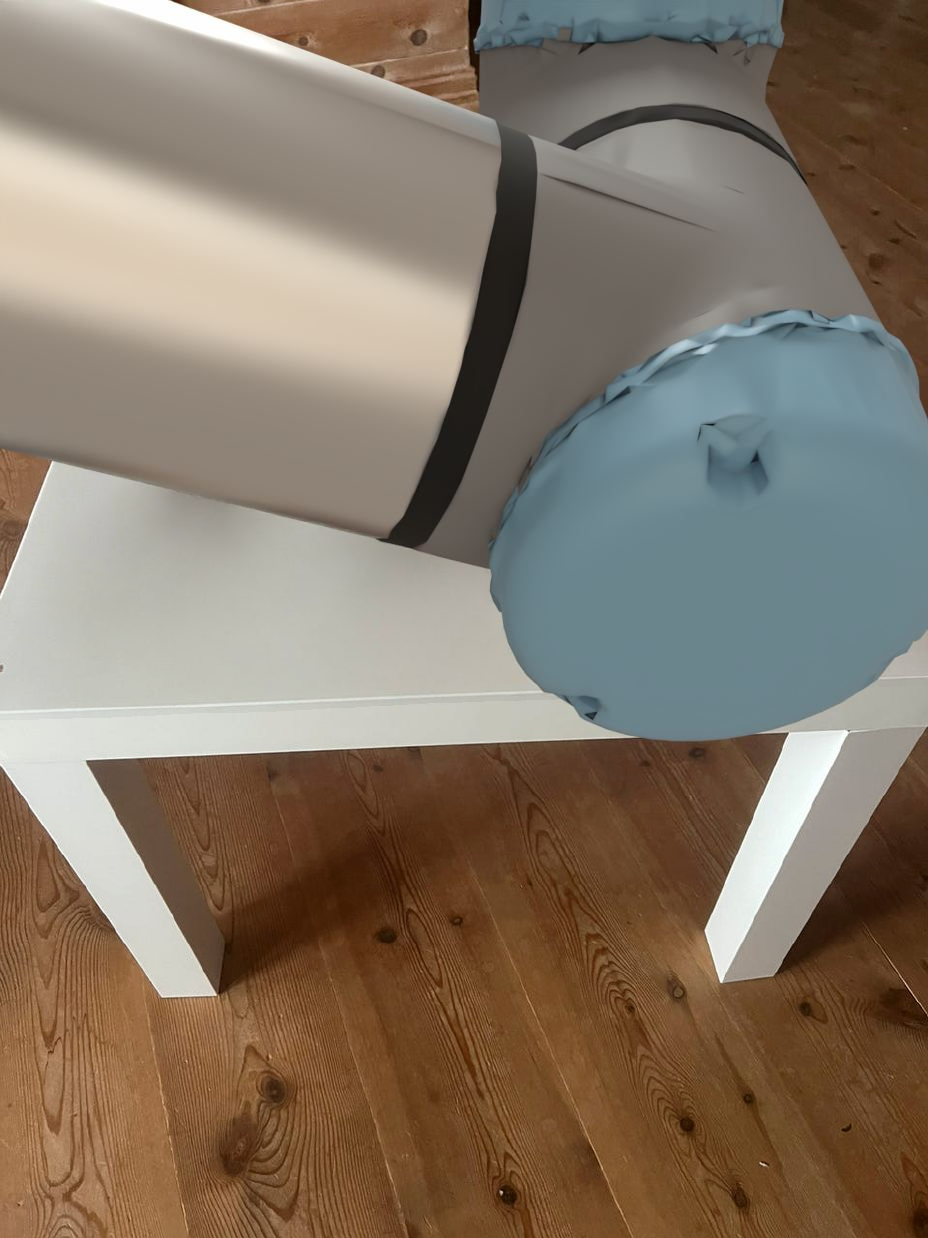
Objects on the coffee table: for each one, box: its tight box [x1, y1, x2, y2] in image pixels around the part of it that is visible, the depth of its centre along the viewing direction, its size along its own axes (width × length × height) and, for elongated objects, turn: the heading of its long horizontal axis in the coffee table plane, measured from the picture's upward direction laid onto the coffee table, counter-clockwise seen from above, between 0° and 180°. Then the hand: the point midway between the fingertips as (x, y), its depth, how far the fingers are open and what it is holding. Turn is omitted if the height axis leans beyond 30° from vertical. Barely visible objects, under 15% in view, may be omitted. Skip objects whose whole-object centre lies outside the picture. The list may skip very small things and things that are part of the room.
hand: (121, 152), depth 50 cm, fingers open, 13 cm apart
